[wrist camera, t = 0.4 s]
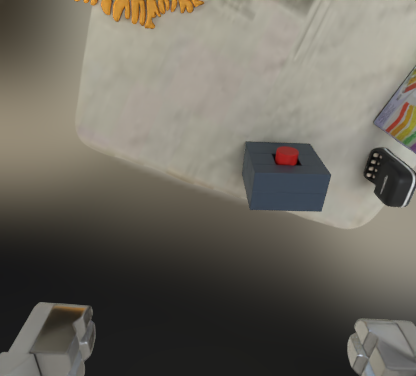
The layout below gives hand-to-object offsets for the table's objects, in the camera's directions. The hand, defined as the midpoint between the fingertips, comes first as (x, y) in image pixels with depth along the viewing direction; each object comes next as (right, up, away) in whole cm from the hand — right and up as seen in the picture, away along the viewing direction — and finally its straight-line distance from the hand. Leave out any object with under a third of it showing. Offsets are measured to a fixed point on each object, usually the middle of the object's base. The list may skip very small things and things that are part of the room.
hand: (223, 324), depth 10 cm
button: (+13, +10, +47) cm, 50 cm away
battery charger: (+31, +9, +54) cm, 63 cm away
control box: (+12, +10, +53) cm, 56 cm away
